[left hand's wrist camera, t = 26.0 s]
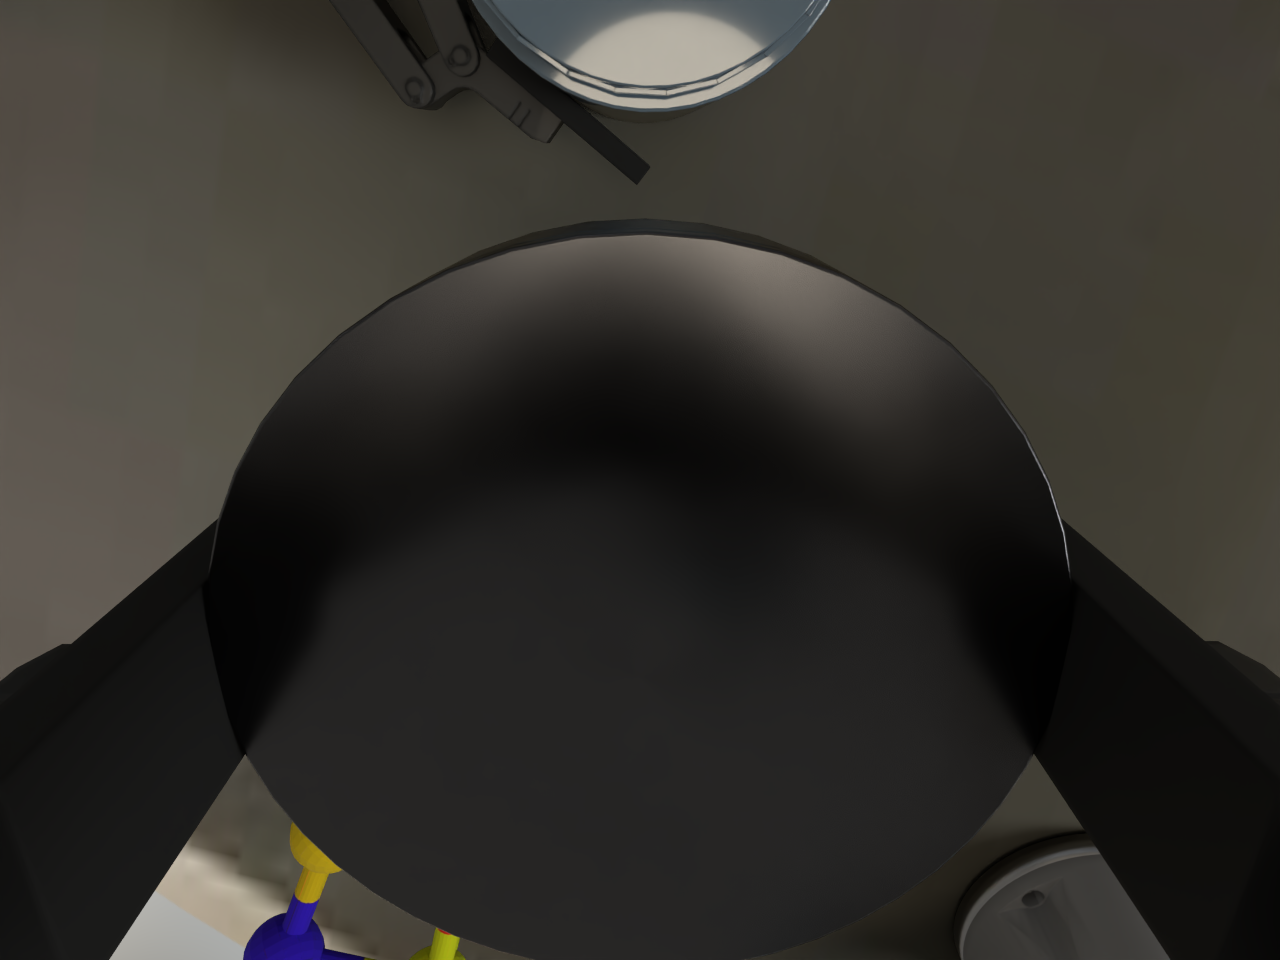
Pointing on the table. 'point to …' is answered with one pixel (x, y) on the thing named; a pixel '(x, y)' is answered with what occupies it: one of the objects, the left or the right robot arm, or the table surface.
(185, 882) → the table surface
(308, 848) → the molecular model
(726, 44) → the screw-top jar
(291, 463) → the lid
